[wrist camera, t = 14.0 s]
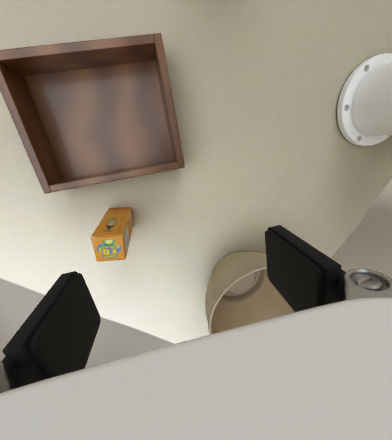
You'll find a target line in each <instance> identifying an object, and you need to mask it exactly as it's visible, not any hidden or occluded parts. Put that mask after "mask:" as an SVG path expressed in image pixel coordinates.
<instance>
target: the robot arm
mask: <svg viewBox="0 0 392 440" xmlns="http://www.w3.org/2000/svg"><path fill="white" fill-rule="evenodd" d="M337 120H338V125H339V128H340V130H341V133H342V135H343V136H344V137H345V139H346V140H348V141H349V142H350V143H352V144H354V145H358V146H371V145H376V144H378V143H380V142H382V141H384V140H386V139H387V138H388V137H390V136H391V135H392V54H391V53H384V54H380V55H376V56H374V57H372V58H369V59H367V60H366V61H364V62H363V63H361V64H360V65H359V66H358V67H357V68H356V69H355V70H354V71H353V72H352V73H351V75H350V76H349V77H348V79H347V81H346V82H345V84H344V86H343V89H342V91H341V94H340V97H339V101H338V108H337ZM265 243H266V262H267V276H268V279H269V281H270V282H271V283H272V284H273V286H274V287H275V288H276V289H277V291H278V292H279V293H280V294H281V296H282V297H283V298H284V299H285V301H286V302H287V303H288V304H289V306H290V307H291V308H292V309H293V310H294V313H290V314H287V315H283V316H279V317H275V318H271V319H268V320H264V321H260V322H256V323H252V324H249V325H245V326H241V327H237V328H234V329H230V330H226V331H222V332H219V333H215V334H211V335H207V336H204V337H200V338H196V339H192V340H189V341H185V342H181V343H177V344H174V345H170V346H167V347H163V348H159V349H155V350H152V351H148V352H144V353H141V354H137V355H133V356H129V357H125V358H122V359H118V360H114V361H111V362H107V363H104V364H100V365H97V366H92V367H89V368H85V366H86V363H87V360H88V357H89V354H90V351H91V348H92V346H93V342H94V340H95V337H96V334H97V331H98V328H99V325H100V315H99V313H98V310H97V308H96V306H95V303H94V301H93V299H92V296H91V294H90V292H89V289H88V287H87V285H86V283H85V280H84V278H83V276H82V274H80V273H79V274H78V273H77V272H76V271H74V272H70V273H65V274H62V275H61V276H60V277H59V278H58V280H57V281H56V282H55V283H54V285H53V286H52V287H51V289H50V290H49V291H48V292H47V294H46V295H45V296H44V298H43V299H42V300H41V302H40V303H39V304H38V305H37V307H36V308H35V309H34V311H33V312H32V313H31V314H30V316H29V317H28V318H27V320H26V321H25V322H24V323H23V325H22V326H21V327H20V329H19V330H18V331H17V332H16V334H15V335H14V336H13V338H12V339H11V340H10V342H9V343H8V344H7V345H6V347H5V348H4V349H3V353H4V354H5V358H4V359H3V360H2V361H0V440H392V279H391V278H390V277H388V276H386V275H384V274H383V273H380V272H377V271H374V270H369V269H361V268H358V269H351V270H348V271H347V272H345V271H343V270H342V269H341V265H340V264H338V263H337V262H335V261H334V260H332V259H331V258H329V257H328V256H326V255H325V254H323V253H322V252H320V251H319V250H317V249H315V248H314V247H312V246H311V245H309V244H308V243H306V242H305V241H303V240H302V239H300V238H299V237H297V236H296V235H294V234H293V233H291V232H290V231H288V230H287V229H285V228H284V227H282V226H280V225H278V226H274V227H269V228H268V231H266V232H265Z"/></svg>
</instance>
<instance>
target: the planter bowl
mask: <svg viewBox="0 0 392 440" xmlns="http://www.w3.org/2000/svg"><path fill="white" fill-rule="evenodd" d="M205 304H206V316H207V321H208V329H209V334H210V335H211V334H215V333H219V332H222V331H226V330H230V329H234V328H237V327H241V326H245V325H249V324H252V323H256V322H260V321H264V320H268V319H271V318H275V317H279V316H283V315H287V314H290V313H294V310H293V309H292V308H291V307H290V306H289V304H288V303H287V302H286V301H285V299H284V298H283V297H282V296H281V294H280V293H279V292H278V291H277V289H276V288H275V287H274V286H273V284H272V283H271V282H270V281H269V279H268V276H267V262H266V253H261V252H241V251H240V252H234V253H231V254H228V255H227V256H225V257H223V258H222V259H221V260H220V261H219V262H218V263H217V265H216V266H215V268H214V270H213V273H212V276H211V278H210V281H209V284H208V287H207V292H206V302H205Z"/></svg>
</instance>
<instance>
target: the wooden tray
mask: <svg viewBox="0 0 392 440" xmlns="http://www.w3.org/2000/svg"><path fill="white" fill-rule="evenodd" d="M0 91H1V93H2V95H3V98H4V100H5V102H6V105H7V107H8V109H9V112H10V114H11V116H12V119H13V121H14V123H15V126H16V128H17V130H18V133H19V135H20V137H21V140H22V142H23V144H24V147H25V149H26V151H27V154H28V156H29V158H30V161H31V163H32V165H33V168H34V170H35V173H36V175H37V177H38V180H39V182H40V184H41V187H42V189H43V191H44V193H51V192H56V191H61V190H67V189H72V188H77V187H83V186H88V185H93V184H99V183H104V182H109V181H114V180H120V179H125V178H130V177H136V176H141V175H146V174H152V173H157V172H162V171H168V170H173V169H178V168H184V167H185V166H184V160H183V155H182V149H181V143H180V138H179V132H178V126H177V121H176V115H175V109H174V104H173V98H172V93H171V87H170V81H169V76H168V70H167V64H166V59H165V53H164V47H163V42H162V36H161V33H157V34H147V35H138V36H128V37H119V38H109V39H100V40H90V41H81V42H72V43H62V44H53V45H43V46H34V47H24V48H15V49H5V50H0Z"/></svg>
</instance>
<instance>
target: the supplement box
mask: <svg viewBox="0 0 392 440" xmlns="http://www.w3.org/2000/svg"><path fill="white" fill-rule="evenodd" d="M131 232H132V210H131V208H110V209H108V211H107V212H106V214H105V216H104V217H103V219H102V220H101V222H100V224H99V225H98V227H97V228H96V230H95V231H94V233H93V234H92V236H91V240H92V244H93V248H94V251H95V255H96V261H111V260H124V259H126V255H127V251H128V246H129V241H130V237H131Z"/></svg>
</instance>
